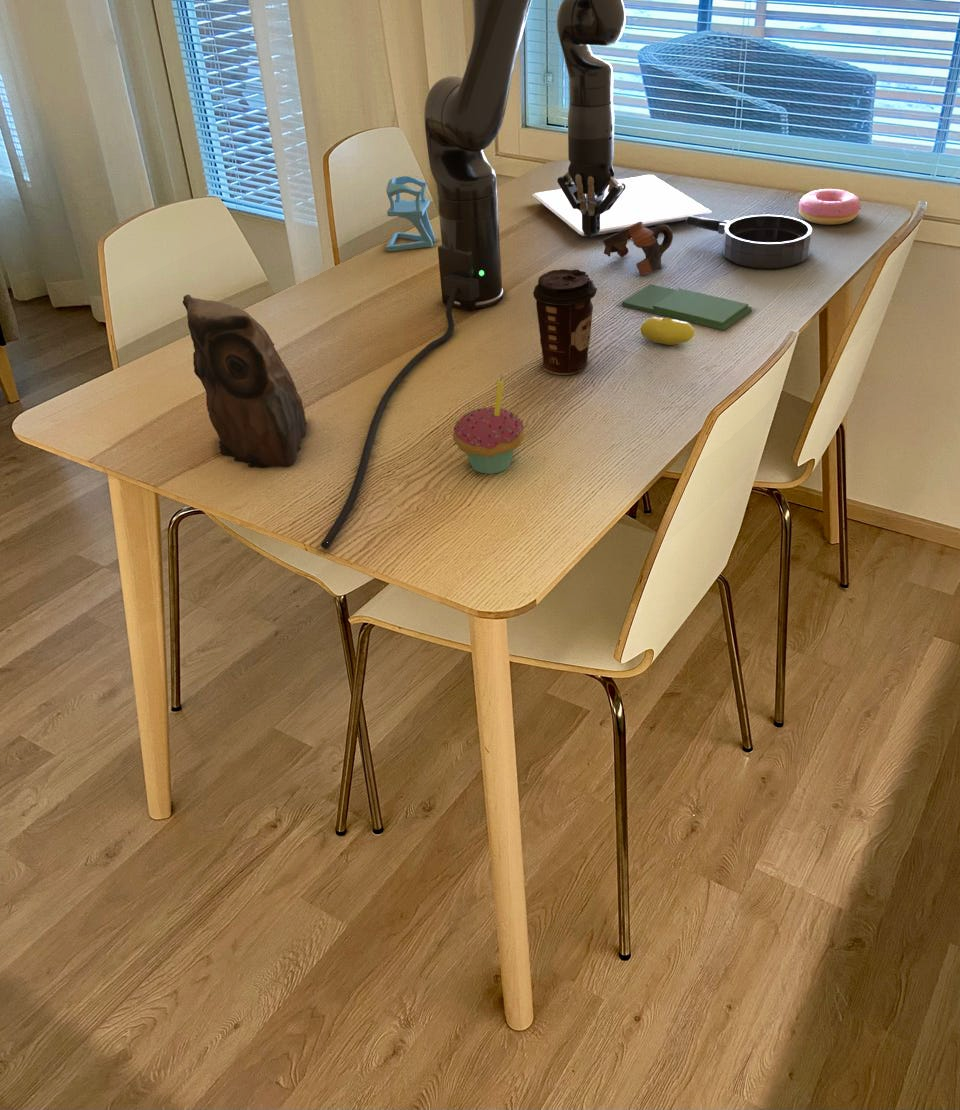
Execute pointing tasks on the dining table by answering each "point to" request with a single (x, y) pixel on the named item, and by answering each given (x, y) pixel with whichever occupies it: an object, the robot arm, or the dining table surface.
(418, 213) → the chair
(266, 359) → the owl
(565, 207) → the white rectangular board
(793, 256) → the pan
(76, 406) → the dining table surface
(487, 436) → the cupcake
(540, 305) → the coffee cup
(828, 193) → the doughnut
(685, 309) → the cloth
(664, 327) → the lemon
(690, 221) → the pan handle
